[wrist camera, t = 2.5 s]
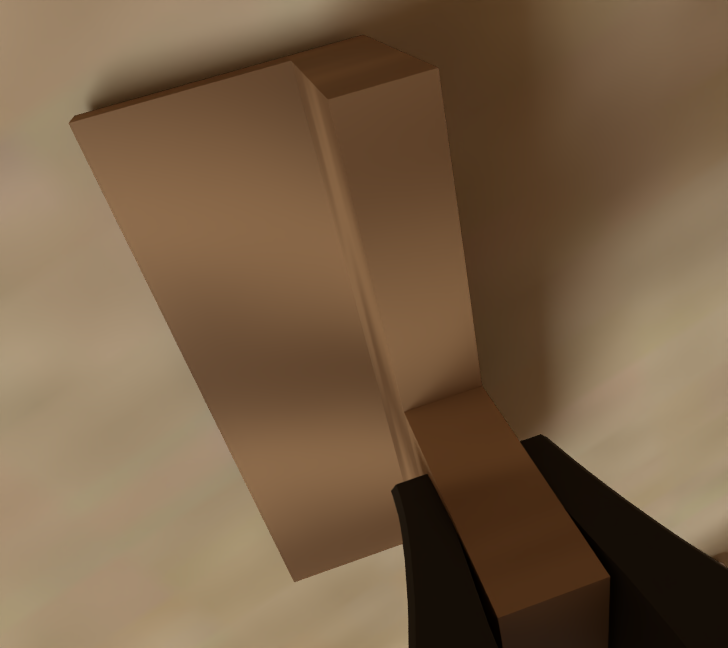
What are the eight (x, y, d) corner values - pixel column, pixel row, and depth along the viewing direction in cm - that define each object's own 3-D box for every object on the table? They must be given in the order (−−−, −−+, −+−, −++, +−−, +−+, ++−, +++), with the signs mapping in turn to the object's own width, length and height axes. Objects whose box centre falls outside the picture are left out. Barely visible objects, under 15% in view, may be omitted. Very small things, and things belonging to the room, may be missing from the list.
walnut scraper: (457, 507, 19) (603, 814, 12) (291, 565, 18) (346, 918, 12) (363, 35, 11) (623, 149, 4) (74, 115, 11) (-141, 384, 4)
